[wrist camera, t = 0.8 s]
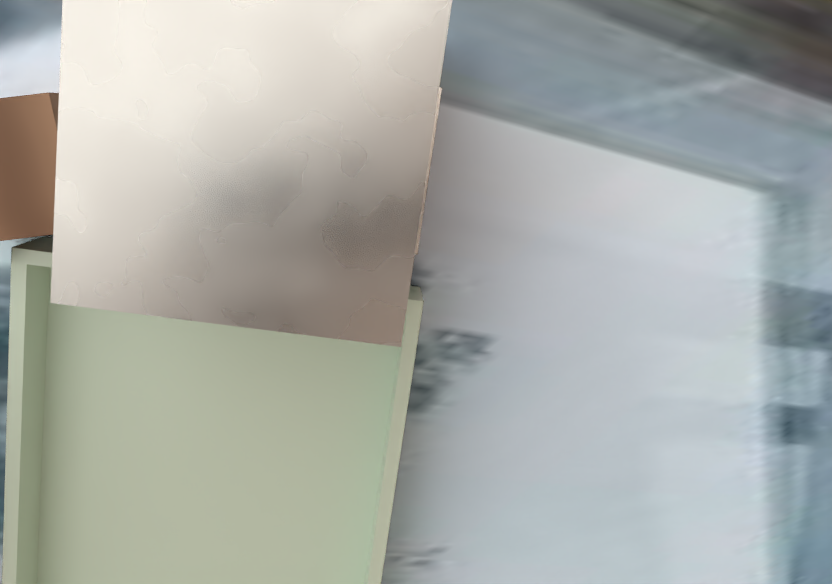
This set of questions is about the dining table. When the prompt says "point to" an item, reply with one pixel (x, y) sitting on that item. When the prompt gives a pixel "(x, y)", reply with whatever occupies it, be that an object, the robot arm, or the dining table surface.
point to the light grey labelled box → (246, 160)
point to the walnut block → (28, 165)
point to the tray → (194, 446)
